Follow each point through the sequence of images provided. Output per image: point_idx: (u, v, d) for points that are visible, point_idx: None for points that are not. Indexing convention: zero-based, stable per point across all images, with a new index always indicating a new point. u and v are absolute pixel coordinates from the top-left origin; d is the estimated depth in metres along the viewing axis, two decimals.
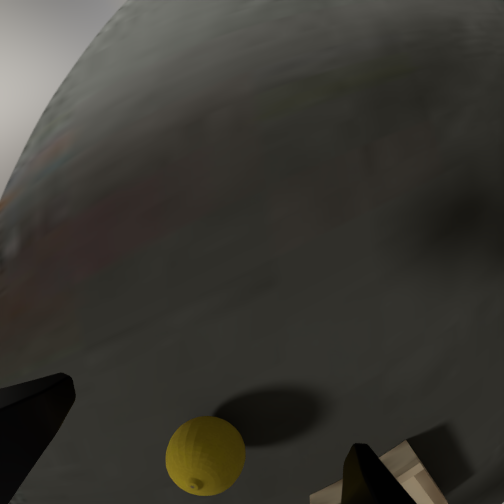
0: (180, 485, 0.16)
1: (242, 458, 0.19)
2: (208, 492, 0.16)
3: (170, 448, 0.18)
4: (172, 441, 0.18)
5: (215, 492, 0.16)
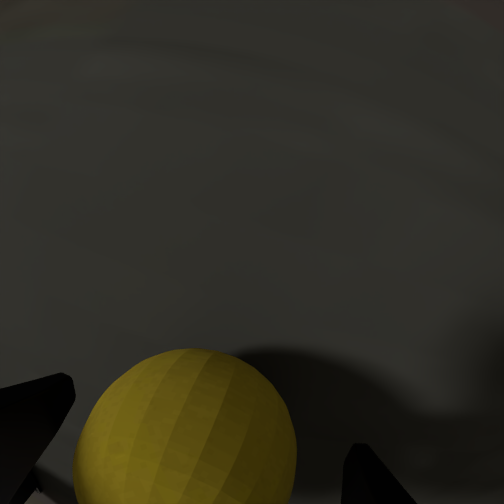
0: None
1: None
2: None
3: (128, 435, 0.05)
4: (144, 412, 0.05)
5: None
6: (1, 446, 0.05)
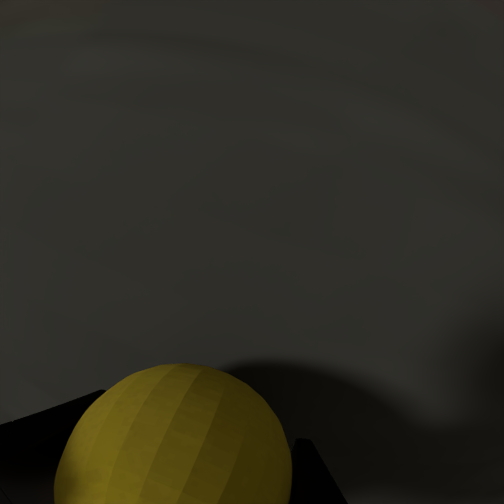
0: None
1: None
2: None
3: (106, 462, 0.04)
4: (124, 438, 0.05)
5: None
6: (44, 475, 0.05)
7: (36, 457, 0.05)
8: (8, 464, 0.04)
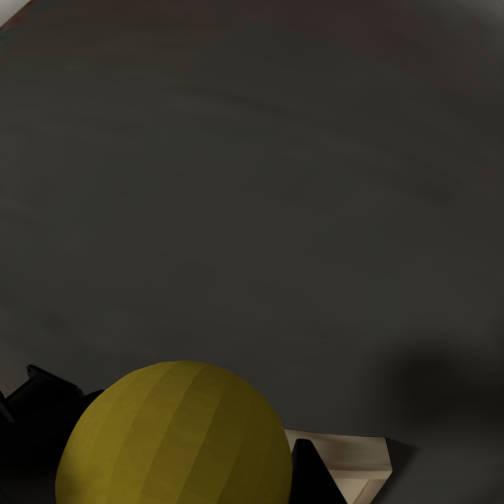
0: None
1: None
2: None
3: (107, 459, 0.04)
4: (125, 435, 0.05)
5: None
6: (44, 475, 0.05)
7: (36, 457, 0.05)
8: (8, 464, 0.04)
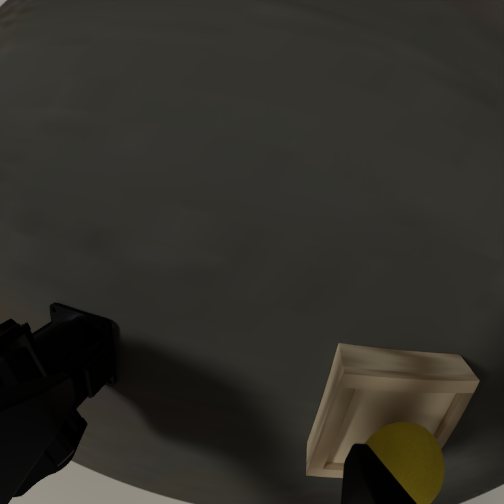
0: None
1: None
2: None
3: (411, 465, 0.12)
4: (412, 455, 0.13)
5: None
6: (1, 446, 0.05)
7: None
8: None
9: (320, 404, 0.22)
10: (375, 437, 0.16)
